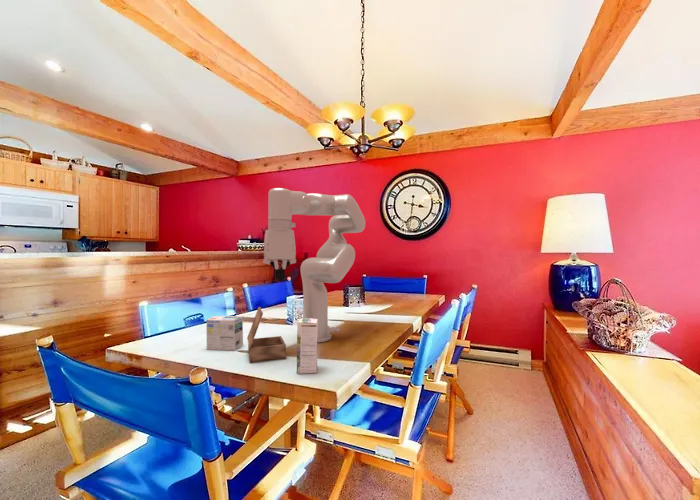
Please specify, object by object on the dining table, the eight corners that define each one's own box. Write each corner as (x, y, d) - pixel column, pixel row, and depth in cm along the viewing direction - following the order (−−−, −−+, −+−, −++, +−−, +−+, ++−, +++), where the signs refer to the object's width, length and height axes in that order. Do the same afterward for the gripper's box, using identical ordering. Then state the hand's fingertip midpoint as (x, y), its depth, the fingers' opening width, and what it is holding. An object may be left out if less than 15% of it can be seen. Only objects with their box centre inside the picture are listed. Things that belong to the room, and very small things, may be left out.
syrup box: (298, 366, 96) (298, 318, 96) (317, 366, 97) (317, 317, 97) (296, 374, 91) (296, 322, 90) (317, 373, 91) (317, 322, 91)
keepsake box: (281, 348, 113) (281, 336, 113) (285, 358, 103) (285, 344, 103) (248, 352, 110) (248, 339, 110) (249, 363, 99) (249, 348, 99)
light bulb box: (243, 345, 118) (243, 315, 118) (235, 351, 111) (235, 319, 111) (215, 344, 119) (215, 315, 119) (205, 350, 112) (205, 319, 112)
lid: (260, 307, 111) (258, 306, 110) (263, 313, 101) (261, 312, 100) (249, 338, 109) (247, 338, 109) (250, 348, 99) (248, 347, 99)
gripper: (300, 227, 114) (299, 279, 114) (255, 226, 108) (255, 280, 108) (304, 226, 106) (304, 281, 107) (257, 224, 101) (257, 283, 101)
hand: (279, 281), depth 107 cm, fingers closed
